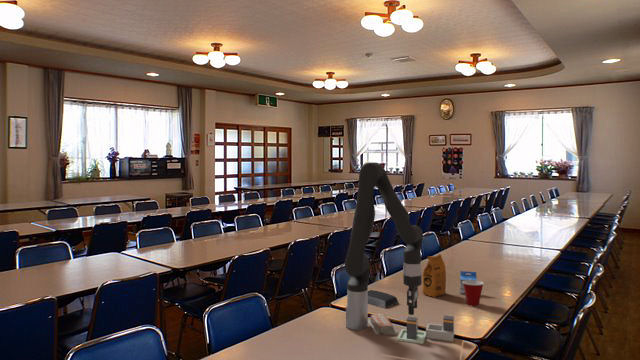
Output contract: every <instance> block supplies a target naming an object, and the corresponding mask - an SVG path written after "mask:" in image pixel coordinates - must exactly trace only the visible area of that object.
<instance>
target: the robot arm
mask: <svg viewBox="0 0 640 360" xmlns="http://www.w3.org/2000/svg"><path fill="white" fill-rule="evenodd" d="M375 187H376V188H377V189H378V191H379V193H380V195H381V197H382V200H383V204H384V207H385V209H386V211H387V213H388V215H389V216H390V217H391V219H392V221H393V223H394V224H395V228H396V230H397V233H398V235H399V237H400V239H401V240H402V242H403V243H406V248H405V249H404V250H403V267H402V269H403V271H402V272H403V273H402V275H403V279H402V281H403V284H404V285H405V286H408V288H407V290H406V305H407V306H408V307H407V308H408V312H407V313H408V315H409V316H414V315H415V309H417V308H418V299H419V287H420V286H421V285H423V273H422V263H421V261H422V260H421V258H422V257H421V256H422V255H421V252H422V246H423V240H424V238H423V237H424V236H423V235H424V234H423V229H422V228H421V227H420V226H418V225H412V224H411V222H410V214H409V212H408V211H407V209H406V208H405V206H404V204H403V203H402V201H401V200H400V198H399V196H398V195H397V192H396V191H395V189H394V187H393V185H392V183H391V181H390V179H389V176H388V174H387V172H386V170H385V168H384V165H382V164H381V163H378V162H370V161H369V162H365V163H364V164H362V165H361V167H360V168H359V172H358V187H357V188H358V189H357V198H356V202H355V209H354V214H353V218H352V227H351V232H350V241H349V245H348V249H347V253H346V257H345V260H344V269H345V272H346V273H347V275H348V276H350V277H349V279H348V281H347V285H346V286H347V287H346V288H347V289H346V293H347V294H346V295H347V297H346V298H347V299H346V300H347V301H346V306H345V328H346V329H350V330H354V331H363V330H366V329H367V328H368V325H369V323H368V320H369V319H368V316H369V315H368V314H369V312H368V308H369V307H368V305H369V304H368V291H369V290H368V289H369V288H368V287H369V283H370V266H371V265H370V260H369V258H368V256H367V255H366V254H365V251H366V247H367V244H368V241H369V239H370V237H371V234H372V231H373V229H374V224H375V219H376V208H375V203H374V192H375Z"/></svg>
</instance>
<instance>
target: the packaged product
mask: <svg viewBox="0 0 640 360" xmlns="http://www.w3.org/2000/svg"><path fill="white" fill-rule="evenodd" d="M368 325H369V326H370V327H371V329H372V331H373V333H374V334H375V335H376V336H382V335H384V336H385V335H397V334H398V333H399V331H397V329H396V328H395V327H394V325H393V323H392V322H391V320H390V319H389V318H388V317H387V316H386V315H385V313H383V312H378V313H375V314H371V315H370V319H368ZM398 335H399V334H398Z"/></svg>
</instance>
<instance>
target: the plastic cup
mask: <svg viewBox="0 0 640 360" xmlns="http://www.w3.org/2000/svg"><path fill="white" fill-rule="evenodd" d="M462 283H463V285H464V289H465V294H464V295H465V298H466V304H467V305H468V306H470V305H472V306H471V307H478V306H479V304H480V300H481V296H482V291H483V286H484V284H485V283H484V282H483V281H479V280H477V281H472V280H466V281H462ZM477 305H478V306H477Z"/></svg>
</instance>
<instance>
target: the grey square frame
mask: <svg viewBox="0 0 640 360" xmlns="http://www.w3.org/2000/svg"><path fill="white" fill-rule="evenodd" d="M443 315H444V314H443ZM425 332H426V337H425V339H432V340H439V341H447V342H453V341H454V339H455V338H454V337H455V316H454V315H444V316H443V320H442V324H438V323H430V322H428V323H427V326H426V328H425Z"/></svg>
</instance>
